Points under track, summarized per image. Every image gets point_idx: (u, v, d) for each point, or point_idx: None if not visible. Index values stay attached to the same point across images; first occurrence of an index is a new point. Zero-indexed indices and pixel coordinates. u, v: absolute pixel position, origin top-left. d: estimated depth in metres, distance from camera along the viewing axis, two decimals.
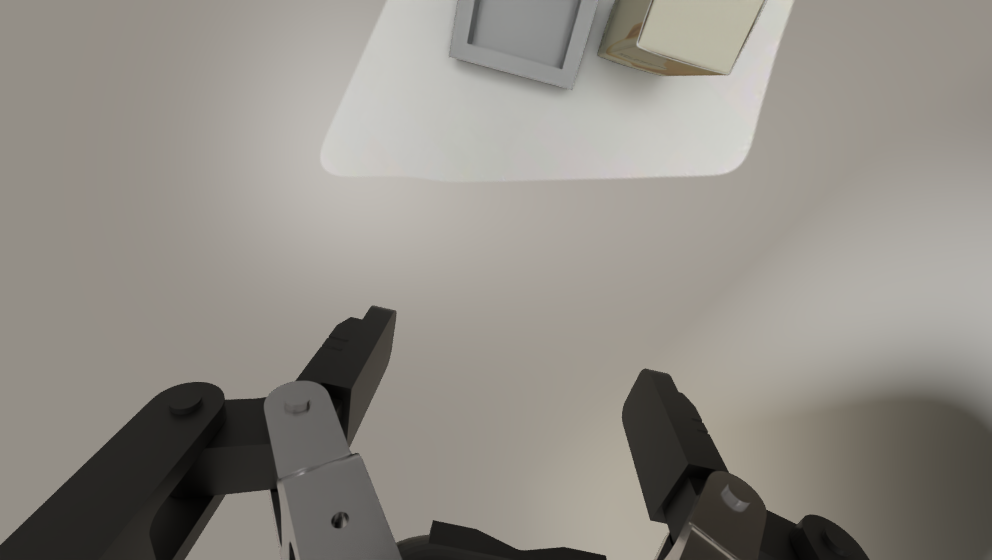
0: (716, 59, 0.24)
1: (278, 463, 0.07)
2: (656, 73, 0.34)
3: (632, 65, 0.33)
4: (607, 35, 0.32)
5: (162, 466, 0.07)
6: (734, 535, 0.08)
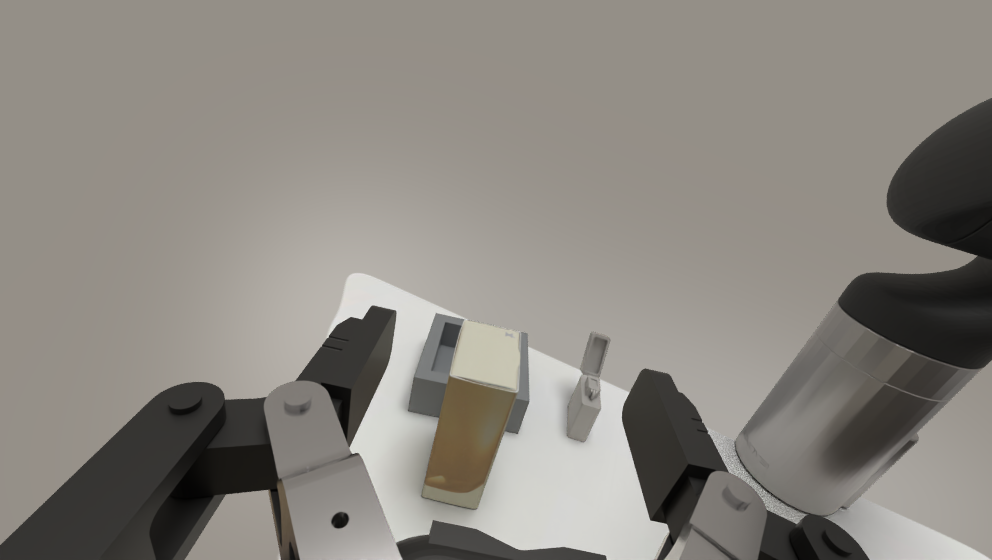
0: (461, 364, 0.25)
1: (278, 463, 0.07)
2: None
3: None
4: None
5: (162, 466, 0.07)
6: (735, 535, 0.08)
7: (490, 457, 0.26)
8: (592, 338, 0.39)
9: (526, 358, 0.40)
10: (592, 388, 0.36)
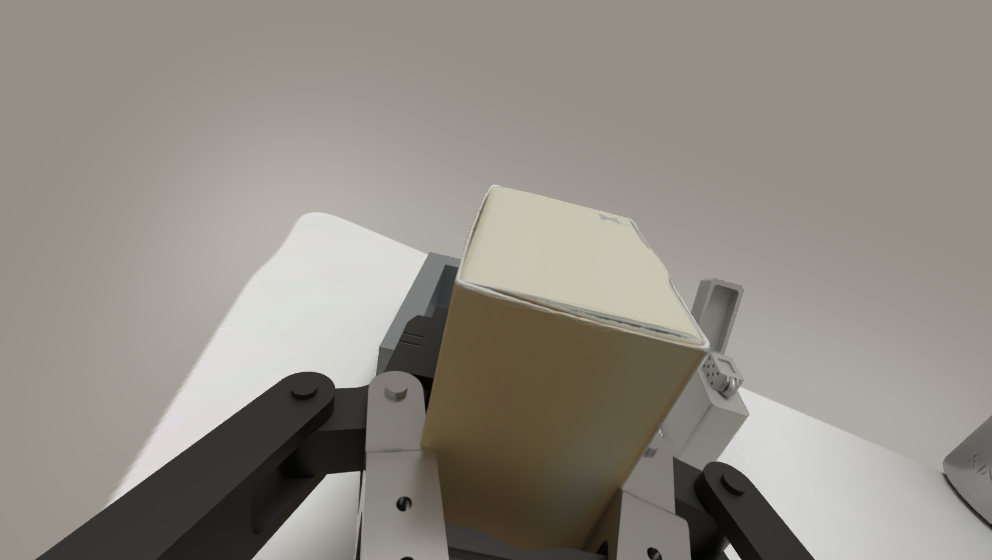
0: (496, 257, 0.07)
1: (368, 438, 0.08)
2: None
3: None
4: None
5: (272, 443, 0.07)
6: (652, 483, 0.08)
7: None
8: (710, 287, 0.22)
9: None
10: (728, 375, 0.19)
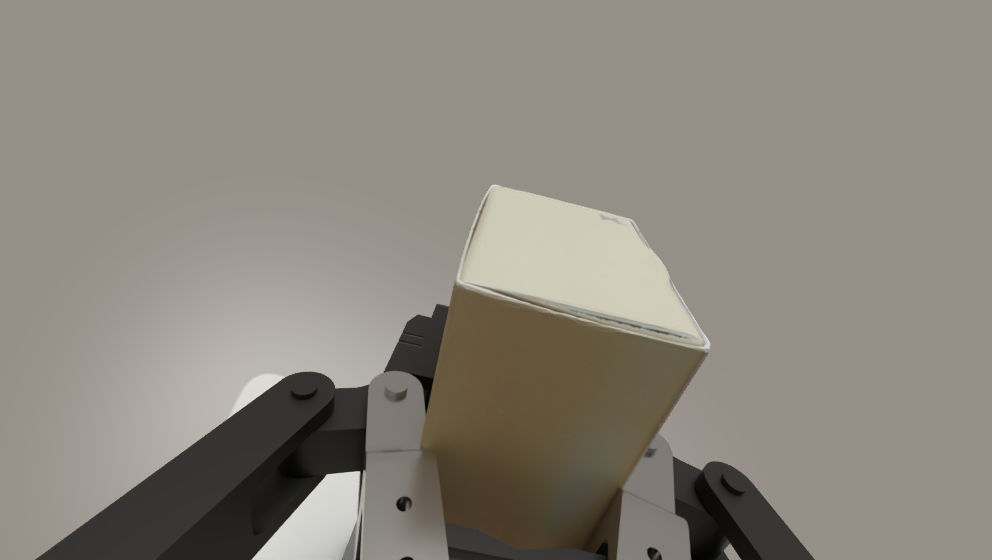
0: (496, 258, 0.07)
1: (368, 438, 0.08)
2: None
3: None
4: None
5: (272, 443, 0.07)
6: (653, 483, 0.08)
7: None
8: None
9: None
10: None
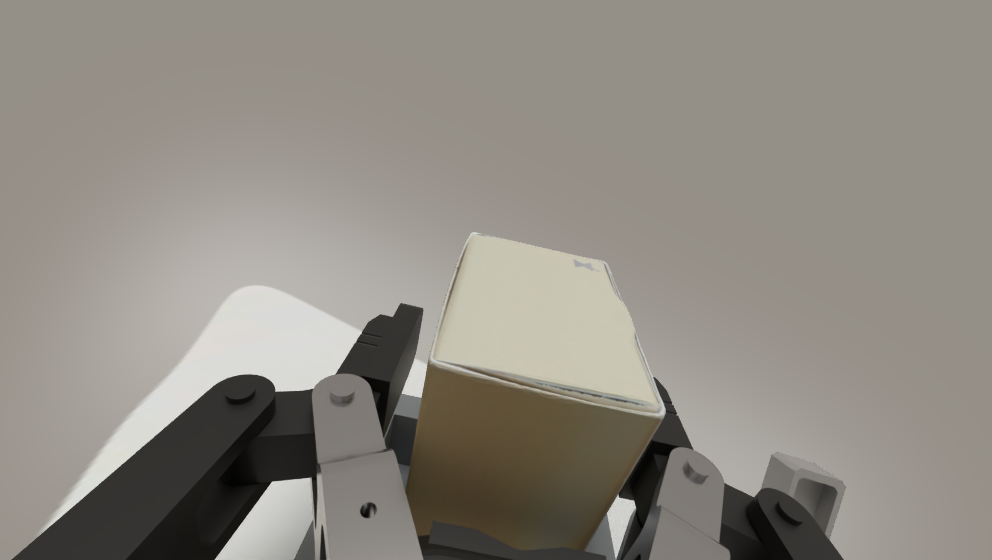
0: (469, 327, 0.08)
1: (318, 449, 0.07)
2: None
3: None
4: None
5: (213, 452, 0.07)
6: (698, 509, 0.08)
7: None
8: (792, 481, 0.14)
9: (605, 528, 0.15)
10: None
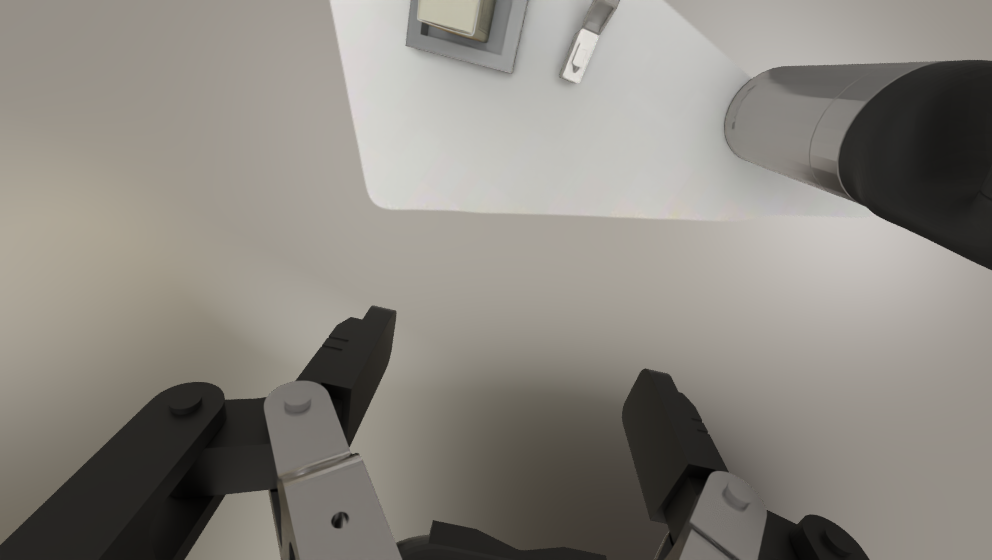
0: (426, 2, 0.28)
1: (278, 464, 0.07)
2: None
3: None
4: None
5: (162, 466, 0.07)
6: (734, 535, 0.08)
7: (477, 39, 0.34)
8: (596, 1, 0.32)
9: (524, 1, 0.35)
10: (575, 64, 0.36)
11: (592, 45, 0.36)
